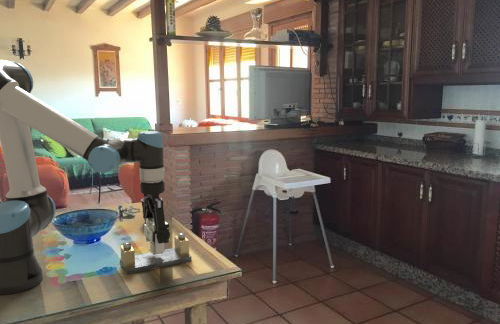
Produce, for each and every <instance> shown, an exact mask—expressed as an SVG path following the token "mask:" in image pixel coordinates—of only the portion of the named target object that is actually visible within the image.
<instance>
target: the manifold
mask: <svg viewBox="0 0 500 324" xmlns="http://www.w3.org/2000/svg"><path fill="white" fill-rule="evenodd" d="M173 239H174V247H172V248H165V252H163V253H162V254H161V253H160V254H156V255H153V254H152V252H151V251H149V252H144V253H139V254H135V249H134V248H133V246H132V242H131V241H125V242H123V243H122V245H120V246H119V248H120V258H119V263H120V264H121V267H122V268H123V270H124V271H125V273H126V274H127V275H130V274H135V273H139V272H144V271H148V270H154V269H157V268H159V269H160V268H163V267H164V268H165V267H168V266H173V265H178V264H183V263H187V262H191V261H193V260H192V259H193V258H192V255H191V254H190V239H188V238H187V237H186V234H185V232H179V233H177V235H174V238H173Z"/></svg>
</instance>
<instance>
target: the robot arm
mask: <svg viewBox="0 0 500 324" xmlns="http://www.w3.org/2000/svg"><path fill="white" fill-rule="evenodd" d="M33 89H34V80H33V76H32V74H31V72H30V71H29V70H28V69H27V67H25V66H24V65H22V64H21V63H19V62H16V61H13V60H8V59H0V146H1V151H2V156H3V161H4V167H5V172H6V175H7V181H8V186H9V190H8V192H6V194H5V200H6V201H2V202H1V203H0V296H1V295H2V296H3V295H11V294H17V293H21V292H24V291H26V290H29V289H31V288H34V287H36V286H37V285H39V284H41V282H42V281H43V279H44V278H43V277H44V275H43V270H42V267H41V265H40V263H39V261H38V259H37V257H36V255H35V253H34V251H35V250H34V239H33V237H35V236H36V235H37V234H39V232H41V231H42V230H45V229H46V228H47V227H48V226H49V225H50V224H51V223H52V222H53V220H54V219H55V215H56V211H57V210H56V203H55V201H54V200H53V198H52V197H50V196H49V194H48V190H47V188H46V187H45V186H43V184H41V183H40V177H39V171H38V165H37V160H36V153H35V148H34V144H33V139H32V132H31V128H32V129H34V130H35V131H37V132H39V133H40V134H42V135H43V136H45V137H46V138H49V139H51V140H52V141H54V142H55V143H57V144H58V145H60V146H62V147H64V148H65V149H67V150H69V151H70V152H72V153H74V154H76V155H77V156H79V157H80V158H82V159H84V160H86V161H87V162H88V165H89V167H90V168H91V169H92V170H93V171H95V172H96V173H101V174H107V173H109V172H112V171H114V170H116V169H117V168H118V167H119V165H122V164H124V163H138V164H139V165H138V166H139V167H138V169H139V170H138V171H139V180H140V182H139V183H140V184H139V187H140V188H139V189H140V193H141V194H142V195H143V198H144V209H143V208H142V217H143V219H144V218H147V217H153V220H154V225H155V230H156V232H154V234H155V249H156V253H161V252H165V250H166V248H165V247H166V246H165V243H163V233H165V232H166V225H165V222H166V220H165V211H164V201H163V199H162V201H161V199H160V198H159V197H160V194H162V193H164V192H165V190H166V189H165V185H166V184H165V181H164V179H165V172H166V169H165V166H164V165H165V163H164V141H163V134H162V133H161V132H159V131H154V130H151V131H150V130H149V131H148V130H147V131H146V130H145V131H140V132H138V133H137V137H135V138H120V137H119V138H116V137H115V138H114V137H110V138H109V137H108V138H102V137H101V136H99V135H97V134H95V133H94V132H93V131H91V130H89V129H87V128H86V127H85V126H83V125H82V124H80V123H78V122H76V121H75V120H74V119H72V118H69V117H68V116H67V115H65V114H63V113H61V112H60V111H59V110H57V109H55V108H53V107H52V106H51V105H49V104H47V103H45V102H44V101H43V100H41V99H39V98H37V97H35V96H34V95H33V94H31V92H32V91H33ZM157 234H158V240H157ZM145 241H146V242H151V241H150V240H149V239H148V238H147V237H146V236H145Z"/></svg>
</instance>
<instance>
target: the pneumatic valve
mask: <svg viewBox="0 0 500 324" xmlns="http://www.w3.org/2000/svg"><path fill="white" fill-rule="evenodd" d="M165 225H166V232H165V233H163V243H164V244H168V243H169V242H170V241H169V240H170V237H171V234H170V233H171V232H170V224H169V223H168V222H167V221H165ZM154 232H156V230H155V225H154V220H153V217H147V218H145V220H144V223H143V233H144V235H145V238H146V237H147V238H148V239H149V240H150V241H149V245H150V249H149V252H152V254H153V255H156V254H160V253H156V249H155V234H154ZM157 240H158V234H157ZM162 253H163V252H161V254H162Z"/></svg>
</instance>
